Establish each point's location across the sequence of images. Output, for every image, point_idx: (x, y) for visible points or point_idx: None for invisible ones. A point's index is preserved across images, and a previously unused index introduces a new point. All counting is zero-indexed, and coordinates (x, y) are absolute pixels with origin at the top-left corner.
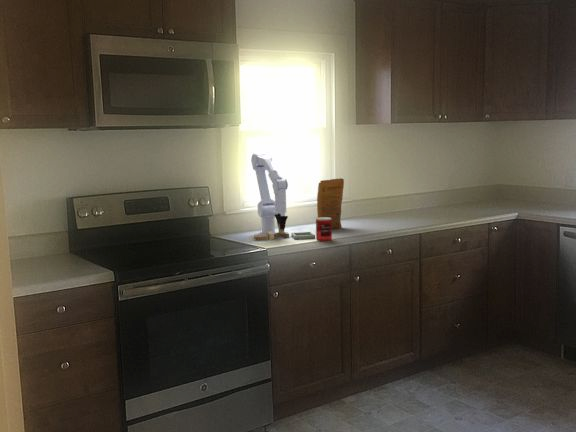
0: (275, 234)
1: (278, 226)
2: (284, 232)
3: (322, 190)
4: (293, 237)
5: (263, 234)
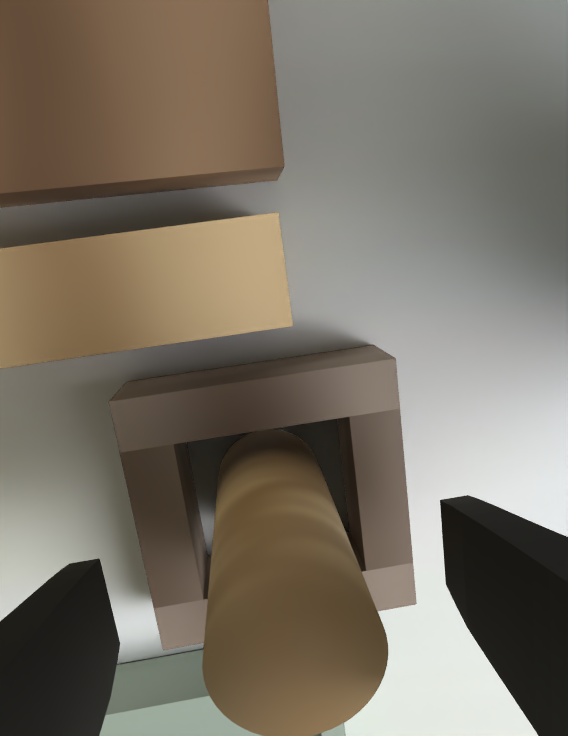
0: (154, 393)
1: (273, 534)
2: (366, 561)
3: None
4: (123, 669)
5: (177, 114)
